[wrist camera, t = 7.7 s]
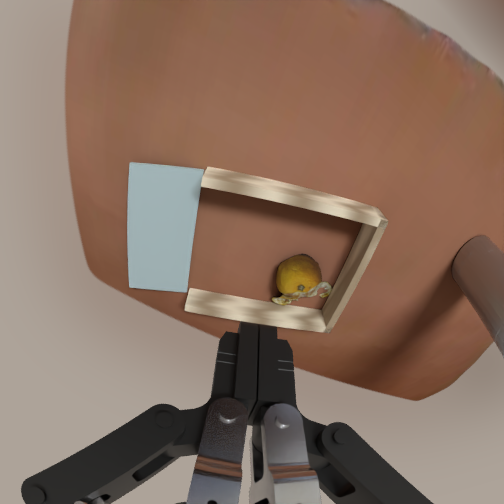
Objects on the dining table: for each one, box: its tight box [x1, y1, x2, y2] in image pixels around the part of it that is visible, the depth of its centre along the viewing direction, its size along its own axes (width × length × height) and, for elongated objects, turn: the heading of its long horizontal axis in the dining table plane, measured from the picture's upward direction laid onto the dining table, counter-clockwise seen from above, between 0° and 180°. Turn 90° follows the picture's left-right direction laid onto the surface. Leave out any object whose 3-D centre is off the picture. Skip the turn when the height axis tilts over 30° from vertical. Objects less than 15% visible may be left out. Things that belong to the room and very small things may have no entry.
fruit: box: [272, 254, 332, 305], centre depth 36 cm, size 8×8×4 cm
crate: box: [185, 167, 388, 333], centre depth 34 cm, size 20×18×4 cm
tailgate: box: [127, 162, 204, 292], centre depth 33 cm, size 1×17×8 cm
